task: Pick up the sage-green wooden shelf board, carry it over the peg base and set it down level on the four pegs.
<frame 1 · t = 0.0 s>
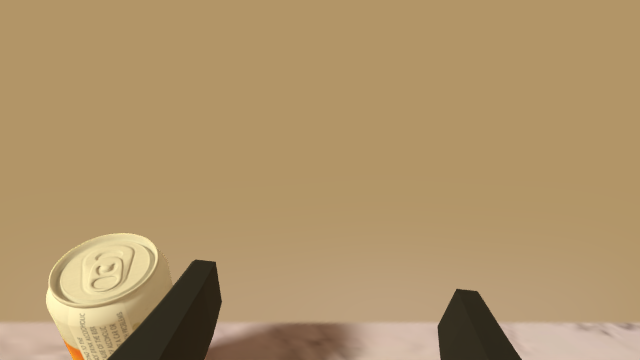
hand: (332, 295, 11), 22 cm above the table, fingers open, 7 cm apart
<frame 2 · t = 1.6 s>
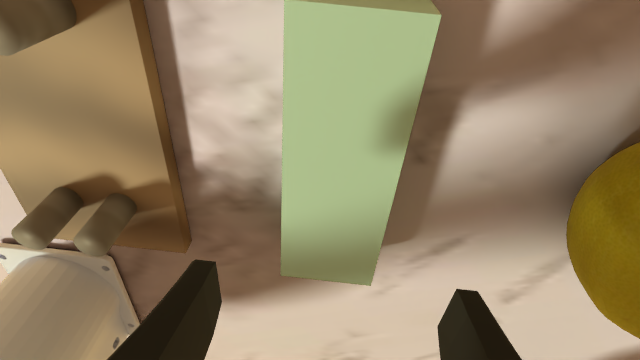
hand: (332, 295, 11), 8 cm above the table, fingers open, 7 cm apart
shelf board: (341, 144, 18), on the table
lemon: (626, 175, 18), on the table
peg base: (75, 110, 18), on the table
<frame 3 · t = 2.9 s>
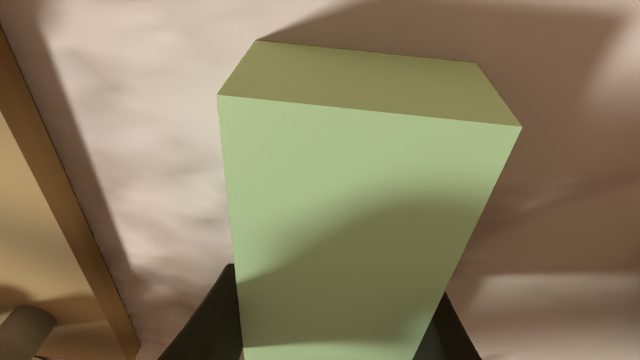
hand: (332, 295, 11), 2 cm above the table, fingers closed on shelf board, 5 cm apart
shelf board: (334, 254, 13), on the table, touching gripper
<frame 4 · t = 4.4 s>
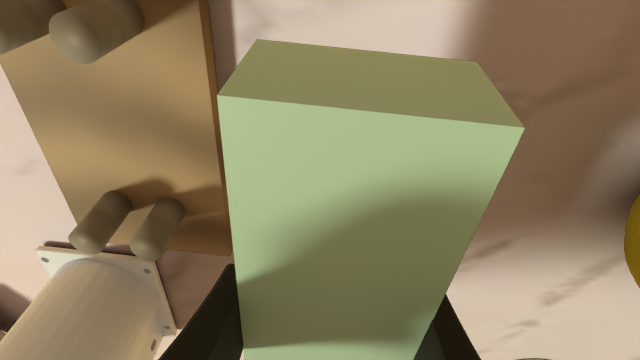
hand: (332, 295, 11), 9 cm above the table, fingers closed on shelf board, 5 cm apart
shelf board: (335, 254, 13), point 7 cm above the table, touching gripper
peg base: (130, 115, 18), on the table
when the fingers open (7 cm above the table, at t = 5.9 s): shelf board stays where it is, resting on peg base.
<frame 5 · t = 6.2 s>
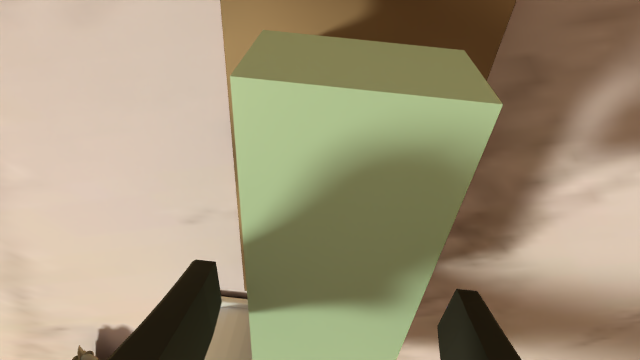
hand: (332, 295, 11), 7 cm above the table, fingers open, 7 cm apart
shelf board: (334, 236, 13), point 4 cm above the table, touching peg base
peg base: (339, 169, 16), on the table
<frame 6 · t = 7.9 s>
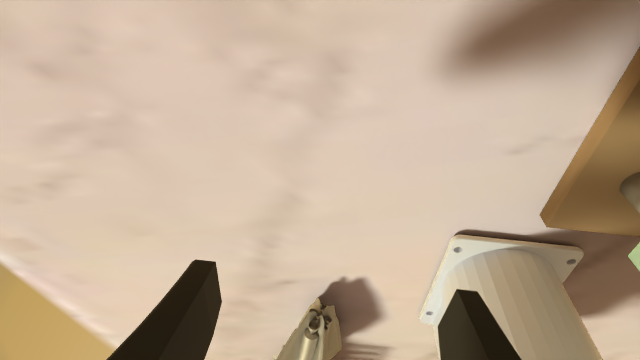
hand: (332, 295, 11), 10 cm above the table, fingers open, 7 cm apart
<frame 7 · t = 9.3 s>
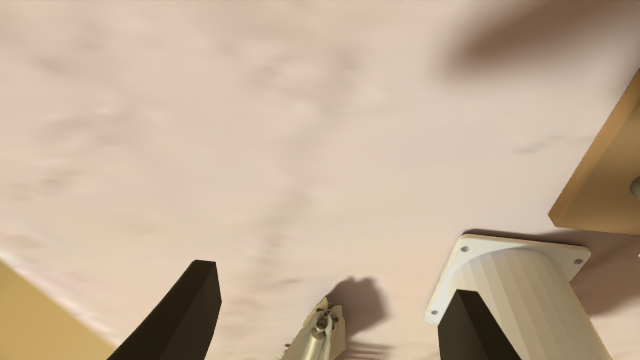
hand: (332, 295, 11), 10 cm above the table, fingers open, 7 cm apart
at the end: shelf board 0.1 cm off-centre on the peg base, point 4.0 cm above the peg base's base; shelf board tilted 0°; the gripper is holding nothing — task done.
